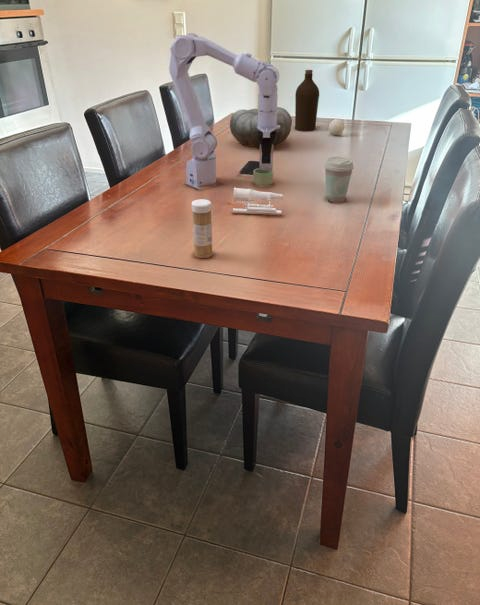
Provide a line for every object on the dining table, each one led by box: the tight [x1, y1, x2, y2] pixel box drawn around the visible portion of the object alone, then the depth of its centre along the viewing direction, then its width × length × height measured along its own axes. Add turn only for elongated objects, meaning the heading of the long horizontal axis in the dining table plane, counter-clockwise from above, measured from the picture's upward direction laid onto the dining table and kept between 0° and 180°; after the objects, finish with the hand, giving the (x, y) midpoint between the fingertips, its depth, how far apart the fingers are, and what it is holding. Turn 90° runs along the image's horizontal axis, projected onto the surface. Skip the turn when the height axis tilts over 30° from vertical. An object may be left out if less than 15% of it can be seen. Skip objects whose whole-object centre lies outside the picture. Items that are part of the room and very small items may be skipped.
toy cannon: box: [232, 186, 284, 216], centre depth 146 cm, size 8×14×5 cm
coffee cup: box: [323, 156, 355, 204], centre depth 153 cm, size 8×9×12 cm
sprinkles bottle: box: [191, 198, 214, 259], centre depth 120 cm, size 5×5×13 cm
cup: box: [252, 168, 274, 186], centre depth 167 cm, size 6×6×4 cm
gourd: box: [229, 106, 293, 147], centre depth 207 cm, size 25×25×17 cm
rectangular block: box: [258, 144, 274, 171], centre depth 160 cm, size 2×4×8 cm, turn 86°
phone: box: [239, 160, 259, 176], centre depth 181 cm, size 8×1×15 cm
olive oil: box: [294, 69, 320, 132], centre depth 229 cm, size 11×11×25 cm
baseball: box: [328, 118, 345, 136], centre depth 224 cm, size 7×7×7 cm
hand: (266, 155), depth 160 cm, fingers closed on rectangular block, 2 cm apart
